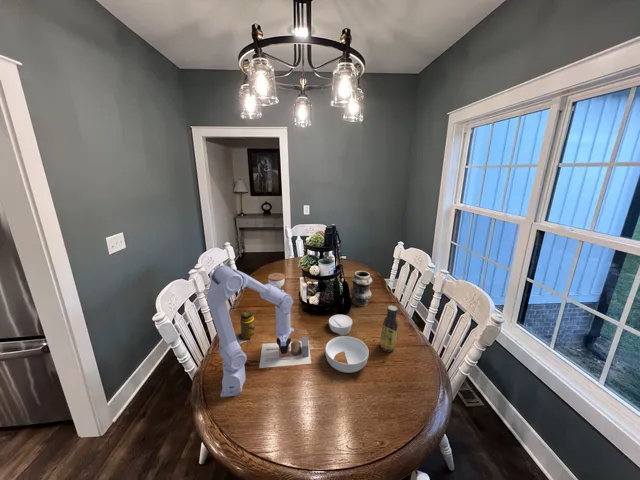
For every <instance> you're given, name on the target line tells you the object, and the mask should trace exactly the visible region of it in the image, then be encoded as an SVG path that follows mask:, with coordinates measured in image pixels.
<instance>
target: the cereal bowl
mask: <svg viewBox="0 0 640 480" xmlns="http://www.w3.org/2000/svg"><path fill="white" fill-rule="evenodd" d="M324 349H325V357H326V361H327V362H328V364H329V365H330V366H331V367H332V368H333V369H334V370H336V371H338V372H342V373H348V374H349V373H350V374H351V373H356V372H359V371H361V370H362V369H363V368H364V367H365V366H366V365H367V363H368V359H369V353H370V352H369V348H368V346H367V345H366V343H364V342H363V341H362V340H360V339H359V338H356V337H353V336H347V335H344V336H337V337H334V338H332V339H330V340H329V341H328V342H327V343H326V345H325V348H324ZM340 353H344V355H345V358H346V361H347V362H346V363H344V362H339V361H337V360H335V356H336V355H338V354H340Z"/></svg>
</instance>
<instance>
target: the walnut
mask: <svg viewBox="0 0 640 480" xmlns="http://www.w3.org/2000/svg"><path fill="white" fill-rule="evenodd" d="M299 341H300V340H295V341H291V342H292V343H291V354H292V355H294V356H298V355H300V353H301V343H300V342H299Z"/></svg>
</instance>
